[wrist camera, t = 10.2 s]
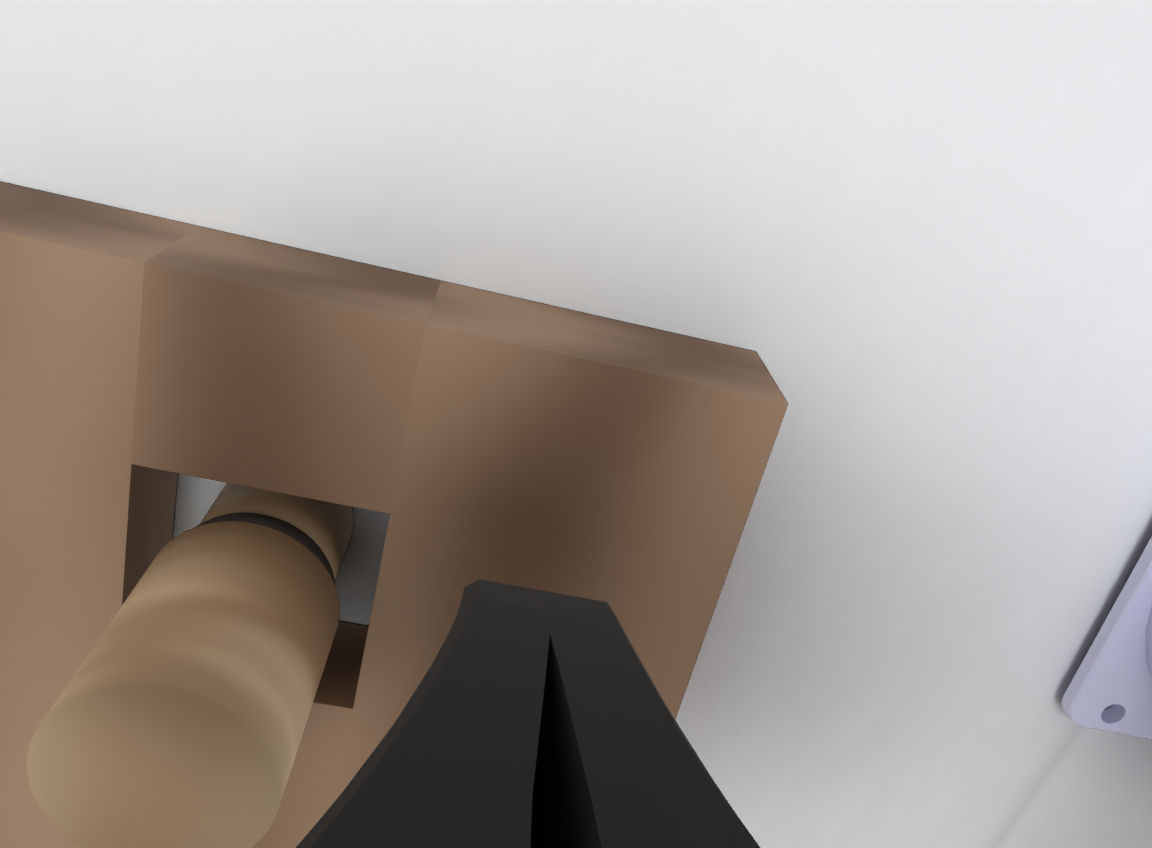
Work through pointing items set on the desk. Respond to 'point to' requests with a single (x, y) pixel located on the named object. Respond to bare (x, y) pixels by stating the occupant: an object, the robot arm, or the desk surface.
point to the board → (344, 458)
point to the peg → (199, 682)
